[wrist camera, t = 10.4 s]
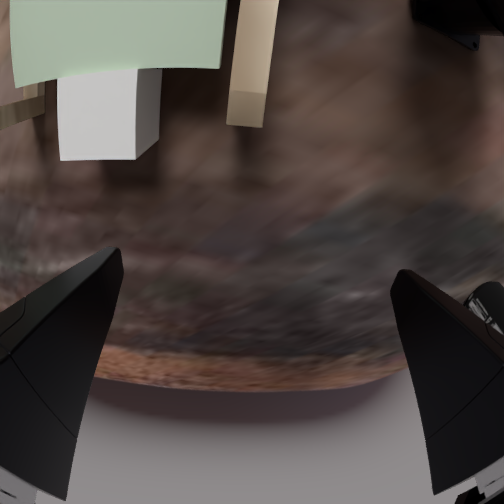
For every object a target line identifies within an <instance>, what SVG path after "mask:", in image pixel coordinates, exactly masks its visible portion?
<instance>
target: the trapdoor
mask: <svg viewBox="0 0 504 504" xmlns="http://www.w3.org/2000/svg"><path fill="white" fill-rule="evenodd" d="M227 4H228V0H10V39H11V54H12V64H13V73H14V81H15V88H18V87H22V86H26V85H30V84H35V83H39V82H44V81H48V80H53V79H57V78H63V77H68V76H74V75H81V74H88V73H96V72H104V71H114V70H125V69H144V68H213V69H219V68H220V66H221V59H222V49H223V39H224V30H225V21H226V12H227Z"/></svg>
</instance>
